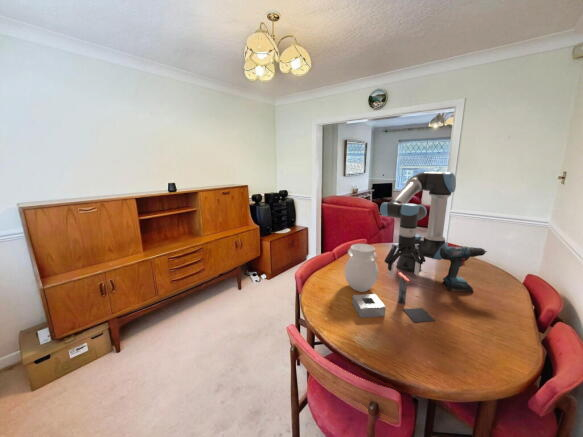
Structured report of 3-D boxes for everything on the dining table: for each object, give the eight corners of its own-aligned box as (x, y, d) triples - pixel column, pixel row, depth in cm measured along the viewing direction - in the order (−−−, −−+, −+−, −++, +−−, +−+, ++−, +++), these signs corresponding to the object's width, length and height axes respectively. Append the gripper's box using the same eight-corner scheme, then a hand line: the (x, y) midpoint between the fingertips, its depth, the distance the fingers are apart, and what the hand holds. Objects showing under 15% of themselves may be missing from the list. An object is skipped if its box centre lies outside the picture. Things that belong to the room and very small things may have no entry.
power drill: (485, 293, 136) (492, 250, 130) (439, 290, 140) (444, 248, 135) (476, 285, 144) (483, 244, 139) (433, 282, 149) (438, 243, 143)
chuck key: (394, 297, 134) (396, 272, 131) (400, 296, 134) (402, 272, 131) (402, 306, 125) (404, 280, 122) (409, 306, 126) (412, 280, 122)
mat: (402, 309, 123) (403, 309, 123) (422, 308, 124) (422, 307, 124) (414, 322, 113) (414, 321, 113) (435, 321, 114) (435, 320, 114)
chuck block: (352, 303, 129) (352, 295, 128) (374, 302, 130) (375, 293, 129) (360, 317, 117) (360, 308, 116) (385, 316, 118) (385, 306, 117)
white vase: (382, 286, 146) (385, 246, 140) (368, 299, 133) (370, 255, 127) (354, 277, 158) (355, 239, 152) (338, 288, 145) (339, 247, 139)
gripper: (386, 238, 117) (383, 279, 122) (436, 236, 119) (431, 277, 124) (379, 234, 124) (376, 273, 129) (426, 232, 126) (422, 271, 131)
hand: (403, 275), depth 126 cm, fingers open, 13 cm apart
